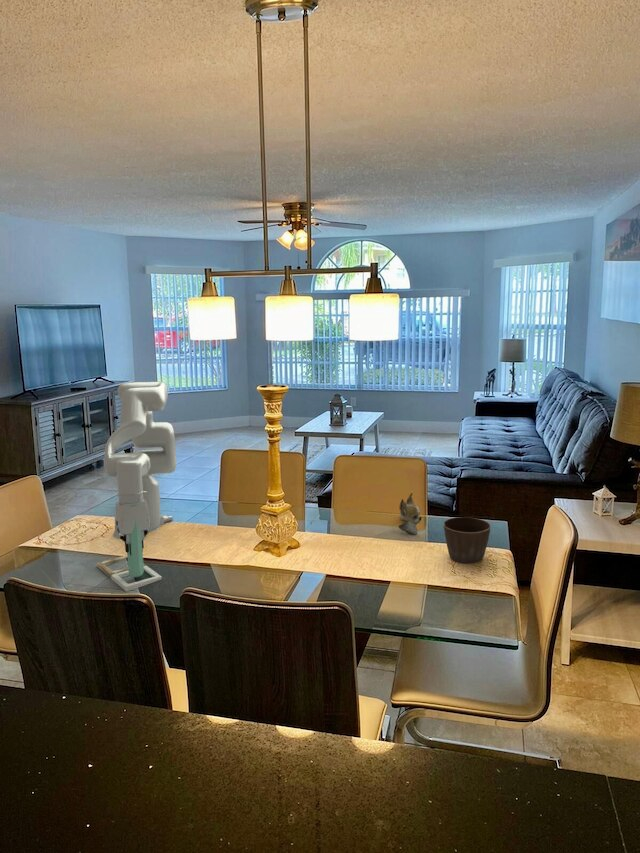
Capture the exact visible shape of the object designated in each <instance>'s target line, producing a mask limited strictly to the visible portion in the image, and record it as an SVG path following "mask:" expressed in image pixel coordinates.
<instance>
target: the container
mask: <svg viewBox="0 0 640 853" xmlns="http://www.w3.org/2000/svg"><path fill="white" fill-rule="evenodd" d="M135 506H138V504H136V505H130V507H135ZM129 538H130V544H131V555H130V547H129V552H126V556H127V557H128V558H127V567H128V571H129V574H130V575H129V577H131V578H138V577H141V576H143V575H144V573H145V570H144V566H143V563H144V555H143V552H144V550H143V551H142V536H141V531H139V529H138V525H137V520H136V521H135V526H134V529H133V531H132V533H130V534H129ZM128 545H129V544H128Z"/></svg>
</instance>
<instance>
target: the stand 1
mask: <svg viewBox="0 0 640 853" xmlns="http://www.w3.org/2000/svg"><path fill="white" fill-rule="evenodd" d="M126 558H127V559H128V557H127V555H123V556H118V557H114V558H111V559H108V560H104V561H100V562H97V563H96V566H97V568H99V569H100V570H101V571H102V572H103V573H104V574H106V576H107V577H108V578H110V579H112V578H111V575H113V574H117V573H120V572H124V571H128V566H127V567H124V568H120V569H117V570H112V569H111V568H109V567H108V565H112V564H115V563H118V562H121V561H124V560H127V559H126ZM123 559H124V560H123ZM143 566H146V564H145V563H144V562H143Z"/></svg>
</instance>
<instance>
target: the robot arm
mask: <svg viewBox="0 0 640 853" xmlns="http://www.w3.org/2000/svg"><path fill="white" fill-rule="evenodd" d="M168 393H169V391H168V387H167V385H166V384H165V383H164V382H163V381H139V382H138V381H137V382H135V381H134V382H124V383H121V384H120V385H119V386H118V388H117V395H118V397H119V400H120V401H121V403H120V404H121V405H120V421H119V422H120V425H119V427H118V428H116V429H115V431H114V432H113V433H112V434H111V435H110V436H109V438H108V440H107V441H106V444H105V447H104V456H103V470H104V472H105V474H106V475H107V477H110V478H116V484H117V494H118V496H117V498H118V501H116V503H115V509H114V532H113V534H112V538H115V539H117V540H121V541H122V542H124V547H125V548H124V550H125V553H127V552H129V547H130V555H131V544H130V538H129V534H130V533H132V531H133V529H134V526H135V521H136V520H137V525H138V529H139V531H141V536H142V551H143V552H144V548H145V546H144V545H145V544H144V540H145V537H147V535H148V533H151V532H156V531H158V530H159V529H160V527H161V526H163V525H165V523H166V522H171V521H173V520H174V517H173V515H162V514H161V513H162V512H161V498H160V484H159V482H158V481H157V479H156V478H155V477H154V476H153V475H160V474H161V475H163V474H165V475H166V474H172V473H174V472H175V471H176V470H177V469H176V468H177V451H176V437H175V430H174V427H173V424H171V423H170V422H165V421H159V422H156V421H155V422H154V416H153V412H160V411H163V410H164V409H165V407H166V405H167V401H168V398H169V397H168V395H169V394H168ZM128 441H131V443H132V445H133V446H134V447H135V448H139V450H136V451H133V452H124V453H115V452H116V450H117V449H118V448H119V447H120V446H121V445H122V444H124V443H126V442H128ZM141 448H142V449H141ZM147 448H149V449H147ZM150 448H156V449H150ZM158 448H159V449H158ZM136 504H138V506H135V507H130V505H136ZM128 544H129V545H128Z"/></svg>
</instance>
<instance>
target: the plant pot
mask: <svg viewBox="0 0 640 853" xmlns="http://www.w3.org/2000/svg"><path fill="white" fill-rule="evenodd" d="M491 528H492V524H490V522H488V521H486V520H485V519H480V518H476V517H468V516H467V517H466V516H464V517H463V516H461V517H458V516H457V517H453V518H452V517H451V518H448V519H446V520H445V521H444V522H443V529H444V531H443V532H444V537H445V542H446V548H447V550H448V551H447V552H448V555H449V558H450V559H451V560H452V561H453V562H456V563H458V564H462V565H463V564H464V565H466V564H467V565H469V564H470V565H472V564H476V563H479V562H481V561H482V560H484V556H485V553H486V550H487V547H488V543H489V540H490V538H489V537H490V532H491Z"/></svg>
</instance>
